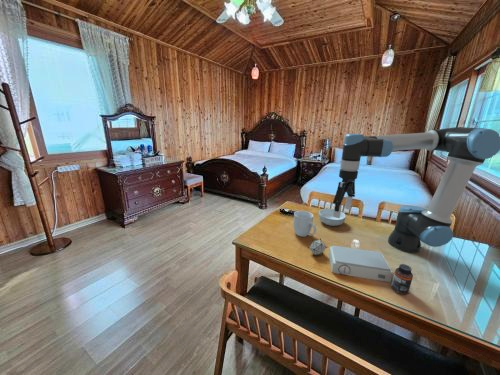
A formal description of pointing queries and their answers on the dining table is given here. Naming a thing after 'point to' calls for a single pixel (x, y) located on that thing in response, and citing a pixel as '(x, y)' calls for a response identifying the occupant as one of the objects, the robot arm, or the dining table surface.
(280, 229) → the dining table surface
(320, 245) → the game die
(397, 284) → the supplement bottle
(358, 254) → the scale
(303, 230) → the mug
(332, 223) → the cereal bowl
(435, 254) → the dining table surface
